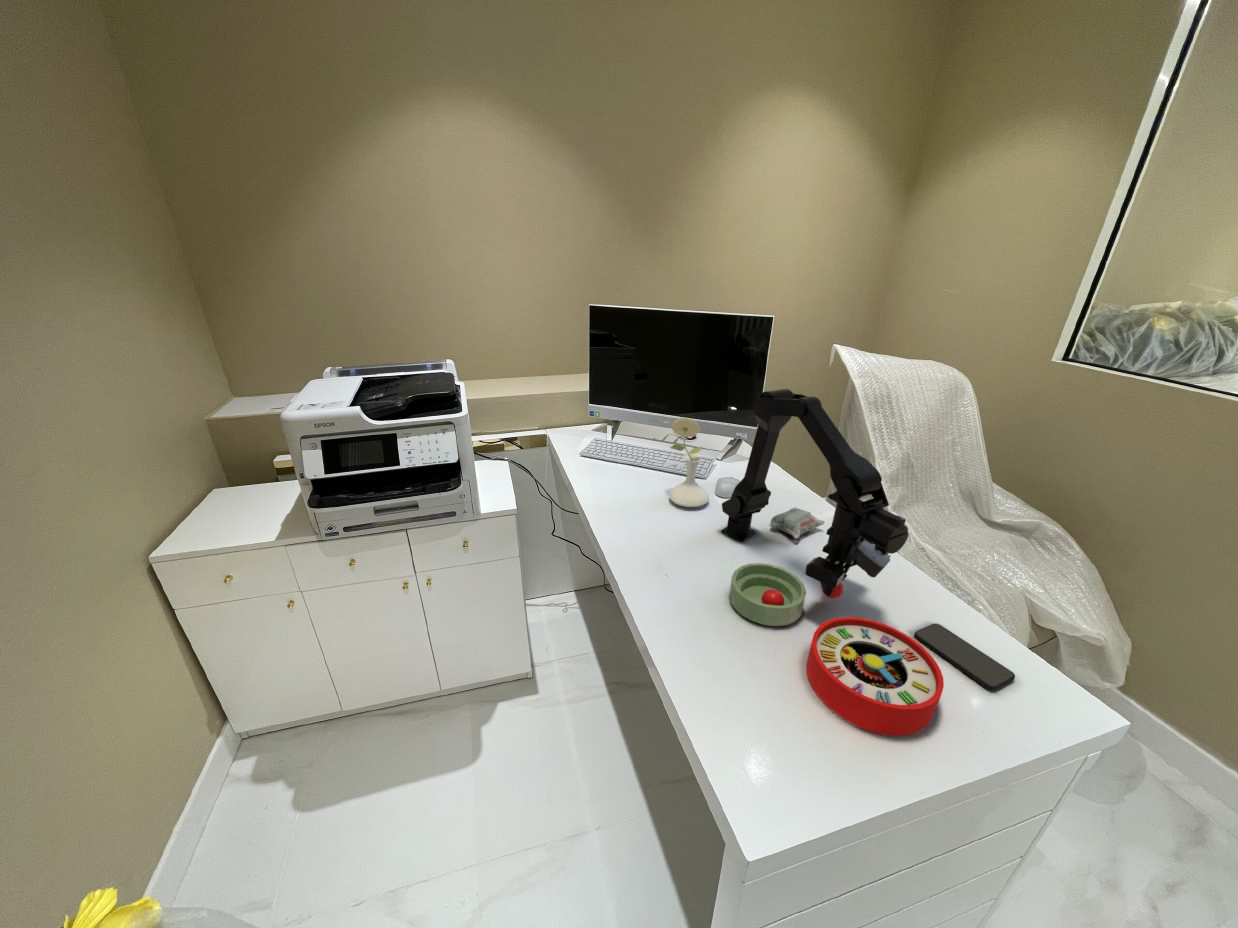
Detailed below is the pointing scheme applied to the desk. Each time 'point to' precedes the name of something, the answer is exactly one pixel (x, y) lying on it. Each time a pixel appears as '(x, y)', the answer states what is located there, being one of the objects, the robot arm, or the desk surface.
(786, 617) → the bowl
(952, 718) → the desk surface
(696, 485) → the flower in vase
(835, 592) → the red toy tomato
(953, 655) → the smartphone
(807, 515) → the packaged food
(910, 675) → the toy clock
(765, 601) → the red round piece
